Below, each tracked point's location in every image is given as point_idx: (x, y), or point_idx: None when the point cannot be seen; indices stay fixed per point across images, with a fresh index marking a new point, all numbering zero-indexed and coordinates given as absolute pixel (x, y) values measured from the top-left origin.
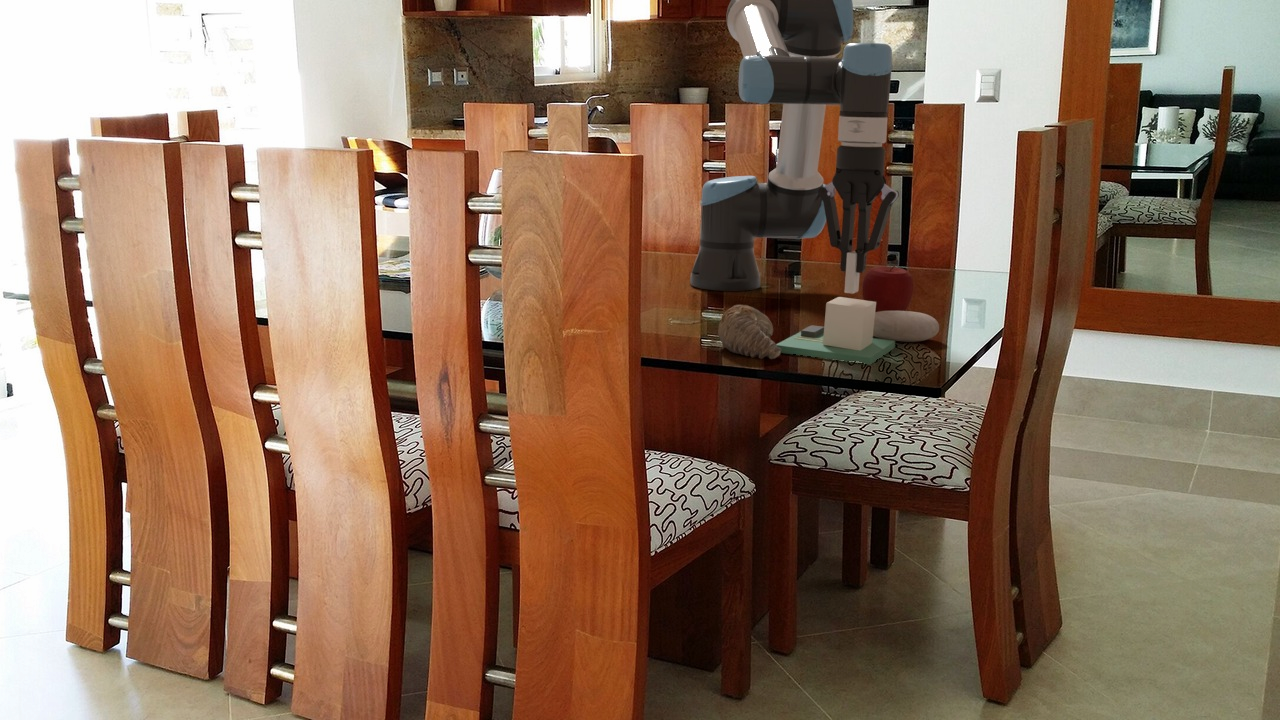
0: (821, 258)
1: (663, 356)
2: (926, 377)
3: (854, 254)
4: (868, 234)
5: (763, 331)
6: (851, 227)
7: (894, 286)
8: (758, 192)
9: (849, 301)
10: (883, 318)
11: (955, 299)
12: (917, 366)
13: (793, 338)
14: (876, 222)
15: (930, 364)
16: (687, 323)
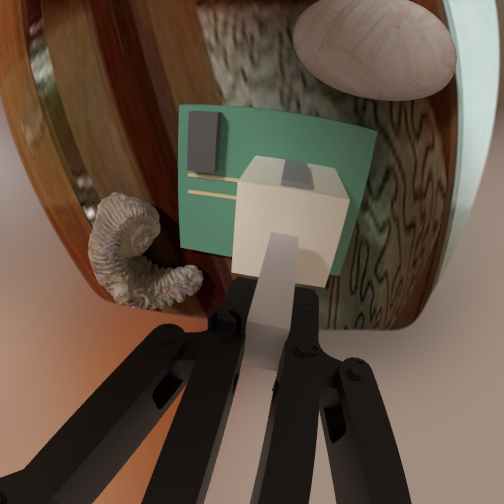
0: None
1: (106, 298)
2: (408, 299)
3: (271, 366)
4: (315, 417)
5: (150, 244)
6: (218, 442)
7: None
8: None
9: (279, 231)
10: (351, 80)
11: None
12: (407, 250)
13: (186, 191)
14: (342, 495)
15: (427, 232)
16: (38, 133)
